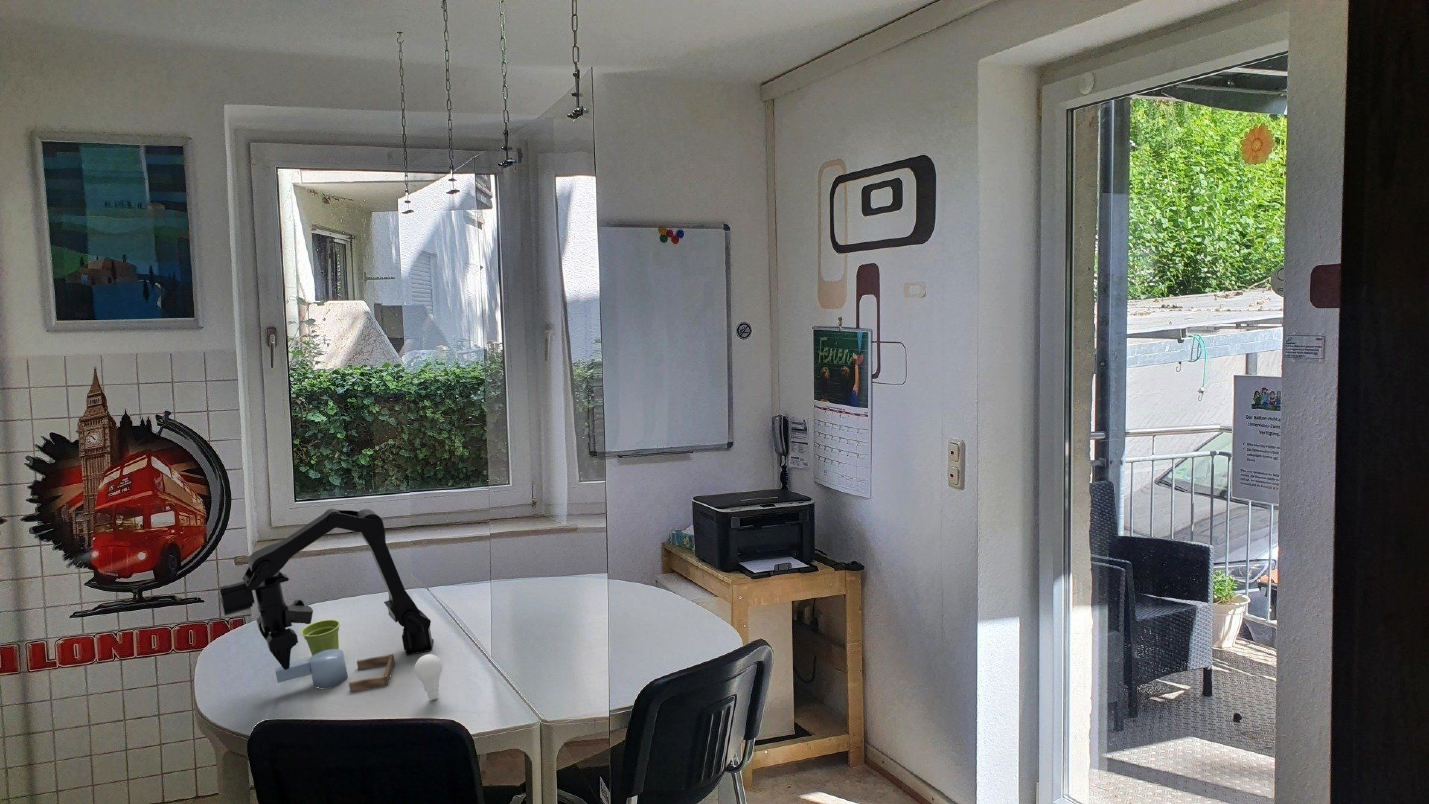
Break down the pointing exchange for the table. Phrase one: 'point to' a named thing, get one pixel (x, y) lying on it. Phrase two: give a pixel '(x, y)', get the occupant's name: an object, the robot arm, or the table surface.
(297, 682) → the table surface
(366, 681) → the holder
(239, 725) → the table surface
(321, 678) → the blue scoop
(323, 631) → the plant pot
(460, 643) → the table surface
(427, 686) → the lightbulb
